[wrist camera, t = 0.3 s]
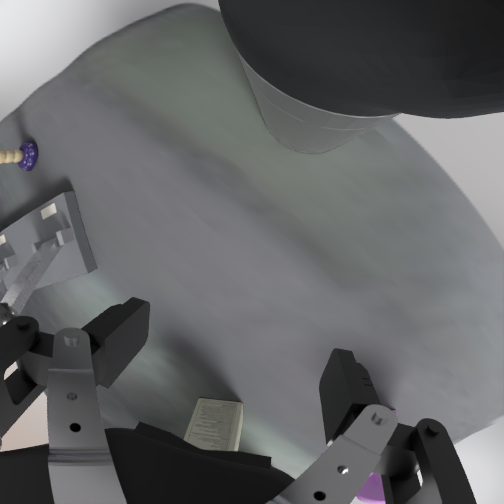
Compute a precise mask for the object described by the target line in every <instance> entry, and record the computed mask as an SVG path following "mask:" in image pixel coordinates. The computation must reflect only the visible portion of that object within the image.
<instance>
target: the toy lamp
mask: <svg viewBox="0 0 504 504" xmlns="http://www.w3.org/2000/svg"><path fill="white" fill-rule="evenodd" d="M37 155H38V150H37V146H36V144H35V143H34V142H33V141H28V142H25V143H24V144H23V145H22V146H21V147H20V149H19V150H18V149H17V150H14V151H13V150H6V151H4V150H0V164H1V163H3V162H5V163H10V162H12V161H13V162H17V163H18V165H19V167H20V168H21V169H23V170H26V171H30V170H31V169H33V167H34V166H35V164H36V160H37Z"/></svg>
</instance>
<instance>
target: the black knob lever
mask: <svg viewBox="0 0 504 504" xmlns="http://www.w3.org/2000/svg"><path fill="white" fill-rule="evenodd" d="M63 246H64V245H61V246H60V244H59V241H58V238H57V237H56V238H53V239H51V240H49V241H47V242H45V243H43V244H41V245H40V246H39V248H38V249H37V250H36V252H35V253H34V254H33V256H32V257H31V258H30V260H29V261H28V262H27V264H26V265H25V267H24V268H23V269H22V271H21V272H20V274H19V275H18V277H17V278H16V280H15V281H14V283H13V284H12V286H11V287H10V289H9V290H8V292H7V293H6V295H5V296H4V298H3V300H2V301H1V303H0V327H1V326H2V325H4V324H5V323H7V322H8V321H10V320H11V319H13V318H15V317H16V315H19V314H20V313H21V311H22V309H23V307H24V306H25V304H26V302H27V301H28V299H29V297H30V296H31V294H32V292H33V291H34V289H35V287H36V286H37V284H38V282H39V281H40V279H41V278H42V276H43V275H44V273H45V272H46V270H47V269H48V267H49V266H50V264H51V263H52V261H53V260H54V258H55V257H56V255H57V254H58V253H59V251H60V250H61V248H62V247H63Z"/></svg>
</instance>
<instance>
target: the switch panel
mask: <svg viewBox="0 0 504 504" xmlns="http://www.w3.org/2000/svg"><path fill="white" fill-rule="evenodd" d="M56 237H57V238H58V241H59V244H60V246H61V245H64V246H63V247H62V248H61V250H60V251H59V253H58V254H57V255H56V257H55V258H54V260H53V261H52V263H51V264H50V266H49V267H48V269H47V270H46V272H45V273H44V275H43V276H42V278H41V279H40V281H39V282H38V284H37V286H36V287H35V289H38V288H41V287H44V286H48V285H51V284H54V283H58V282H61V281H64V280H68V279H71V278H75V277H78V276H81V275H85V274H88V273H90V272H92V271H93V270H95V269H97V266H96V263H95V261H94V258H93V255H92V252H91V249H90V246H89V243H88V239H87V236H86V233H85V230H84V226H83V223H82V219H81V216H80V212H79V208H78V205H77V201H76V197H75V193H74V191H69V192H63V193H62V194H60V195H58V196H56V197H55V198H53V199H51V200H49V201H48V202H46V203H44V204H43V205H41V206H39V207H38V208H36V209H35V210H33V211H31V212H30V213H28V214H27V215H25V216H24V217H22V218H21V219H19V220H17V221H16V222H14V223H13V224H12V225H10V226H9V227H7V228H6V229H4V230H3V231H1V232H0V265H1V264H3V263H5V264H6V267H7V270H8V269H10V268H11V269H10V271H9V272H8V273H7V275H6V276H5V278H4V279H3V280H4V283H5V286H6V288H7V291H8V290H9V289H10V287H11V286H12V284H13V283H14V281H15V280H16V278H17V277H18V275H19V274H20V272H21V271H22V269H23V268H24V267H25V265H26V264H27V262H28V261H29V260H30V258H31V257H32V256H33V254H34V253H35V252H36V250H37V249H38V248H39V246H40V245H41V244H43V243H45V242H47V241H49V240H51V239H53V238H56Z"/></svg>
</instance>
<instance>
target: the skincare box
mask: <svg viewBox="0 0 504 504" xmlns="http://www.w3.org/2000/svg"><path fill="white" fill-rule="evenodd" d="M242 424H243V403H241V402H232V401H222V400H214V399H205V398H199V399H198V401H197V404H196V407H195V409H194V412H193V415H192V418H191V420H190V423H189V426H188V428H187V431H186V434H185V437H184V439H183V440H184V441H186V442H188V443H190V444H192V445H194V446H196V447H198V448H200V449H204V450H219V451H238V447H239V441H240V436H241V430H242Z"/></svg>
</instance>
